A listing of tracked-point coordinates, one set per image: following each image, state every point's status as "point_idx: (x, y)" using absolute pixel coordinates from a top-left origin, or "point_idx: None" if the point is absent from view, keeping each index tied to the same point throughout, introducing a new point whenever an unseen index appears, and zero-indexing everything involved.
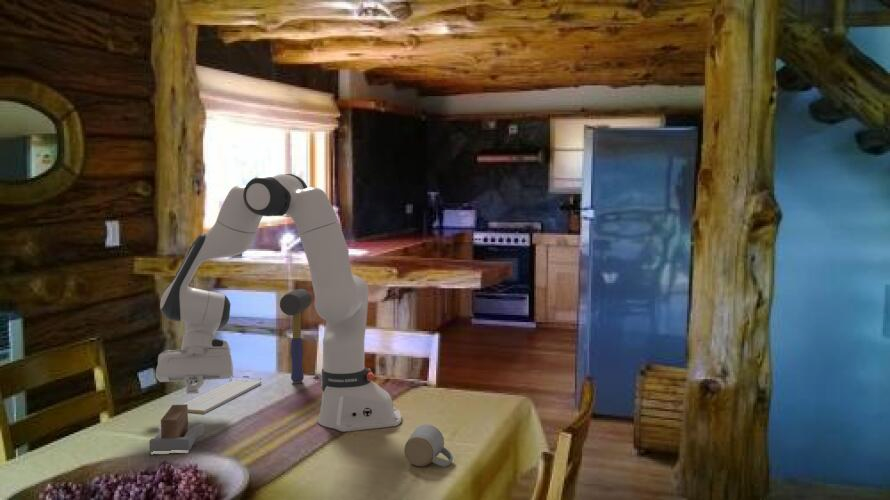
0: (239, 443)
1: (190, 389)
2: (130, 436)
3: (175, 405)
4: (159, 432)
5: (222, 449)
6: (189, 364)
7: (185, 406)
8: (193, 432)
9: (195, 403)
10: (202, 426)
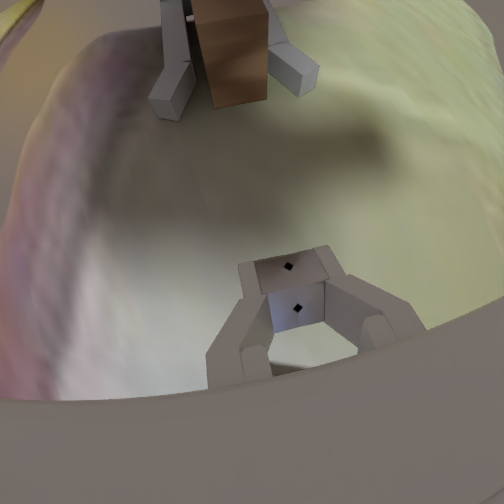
0: (54, 89)
1: (297, 255)
2: (401, 94)
3: (249, 9)
4: (280, 27)
5: (89, 49)
6: (457, 471)
7: (194, 7)
8: (164, 40)
9: None
10: (151, 93)
